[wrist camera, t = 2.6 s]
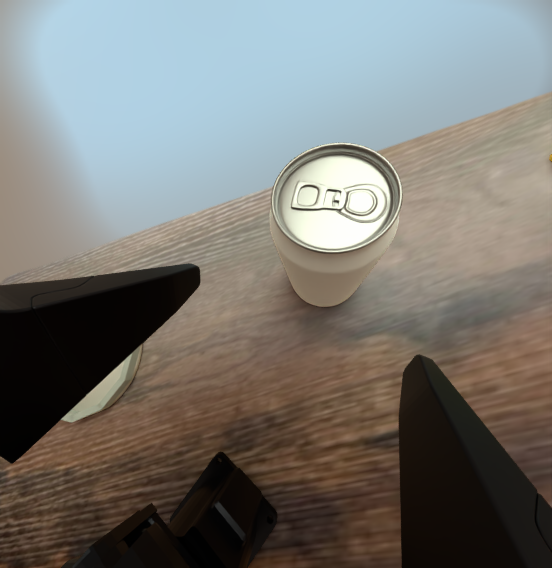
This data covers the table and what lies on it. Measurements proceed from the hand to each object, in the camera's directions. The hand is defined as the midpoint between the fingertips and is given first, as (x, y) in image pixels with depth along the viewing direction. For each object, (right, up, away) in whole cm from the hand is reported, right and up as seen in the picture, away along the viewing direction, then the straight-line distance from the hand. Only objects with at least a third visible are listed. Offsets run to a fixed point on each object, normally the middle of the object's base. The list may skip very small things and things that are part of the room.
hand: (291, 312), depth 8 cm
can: (+4, +2, +13) cm, 13 cm away
